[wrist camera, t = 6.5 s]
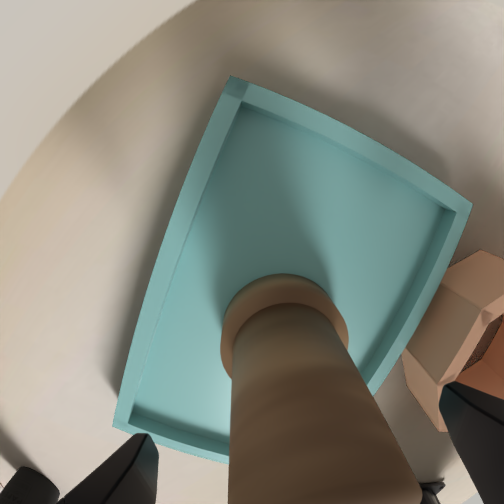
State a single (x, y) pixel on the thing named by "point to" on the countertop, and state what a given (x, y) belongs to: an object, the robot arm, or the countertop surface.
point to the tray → (281, 255)
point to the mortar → (458, 334)
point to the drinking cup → (29, 489)
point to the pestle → (303, 404)
